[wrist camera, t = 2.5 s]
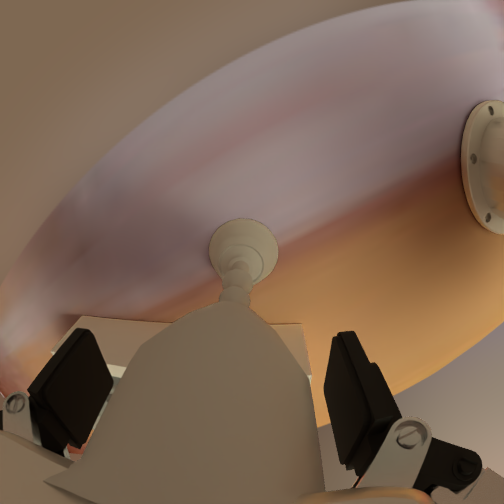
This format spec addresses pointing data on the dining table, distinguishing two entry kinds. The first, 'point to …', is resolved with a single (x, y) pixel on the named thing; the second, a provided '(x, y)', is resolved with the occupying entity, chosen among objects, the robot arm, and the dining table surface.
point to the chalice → (208, 403)
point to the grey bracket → (137, 332)
